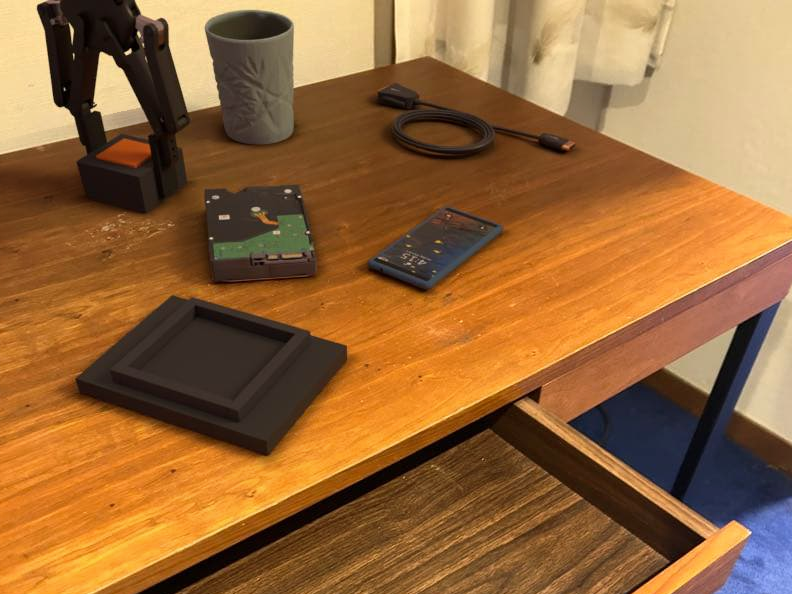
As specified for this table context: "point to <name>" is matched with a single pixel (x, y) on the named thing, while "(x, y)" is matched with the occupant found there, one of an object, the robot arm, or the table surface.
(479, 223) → the smartphone
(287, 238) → the disk drive
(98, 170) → the black and orange block
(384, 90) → the cable
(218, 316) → the base pad
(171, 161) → the robot arm
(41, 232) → the table surface
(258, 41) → the grey embossed cup
